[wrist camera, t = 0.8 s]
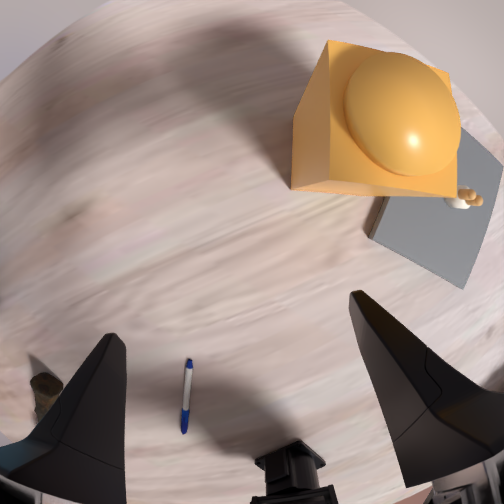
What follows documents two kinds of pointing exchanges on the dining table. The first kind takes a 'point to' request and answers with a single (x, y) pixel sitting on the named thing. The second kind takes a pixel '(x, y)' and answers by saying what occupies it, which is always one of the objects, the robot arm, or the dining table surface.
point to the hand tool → (45, 392)
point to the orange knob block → (375, 126)
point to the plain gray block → (445, 217)
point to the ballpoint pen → (186, 397)
